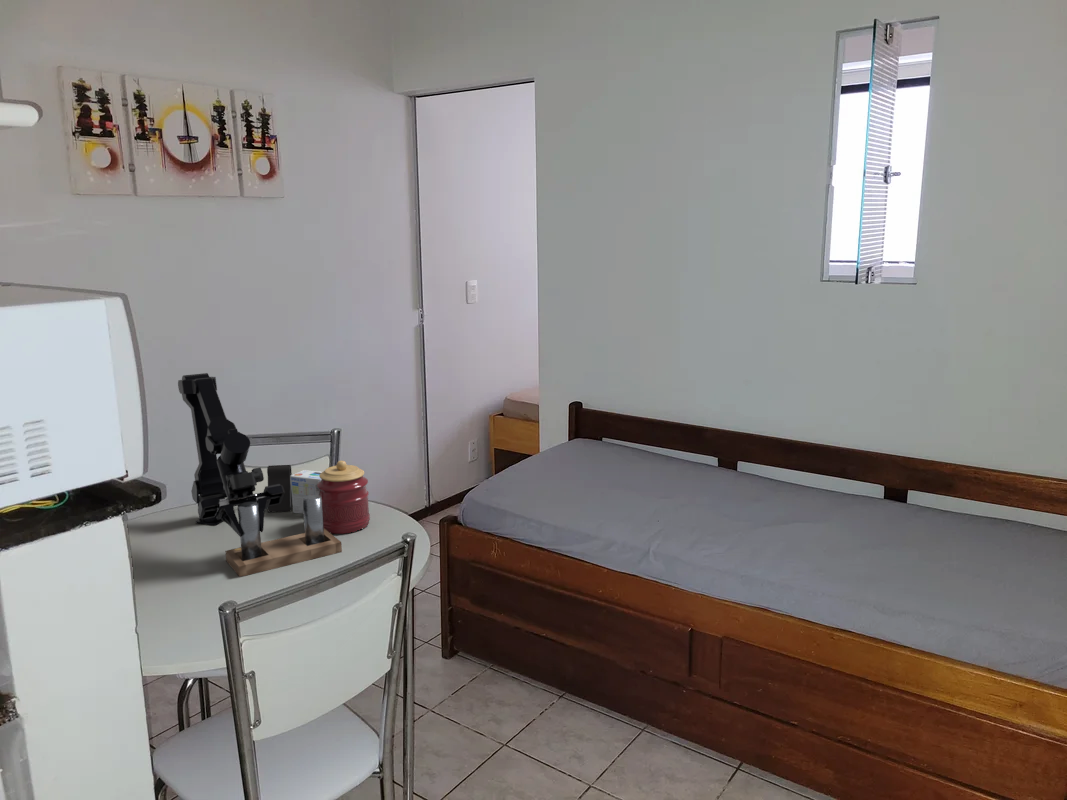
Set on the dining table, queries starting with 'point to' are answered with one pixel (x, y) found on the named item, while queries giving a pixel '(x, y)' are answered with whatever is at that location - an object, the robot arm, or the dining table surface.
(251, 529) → the cylinder
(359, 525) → the canister
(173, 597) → the dining table surface
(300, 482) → the light bulb box
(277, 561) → the wooden slotted holder
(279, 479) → the phone stand
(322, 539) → the cylinder
